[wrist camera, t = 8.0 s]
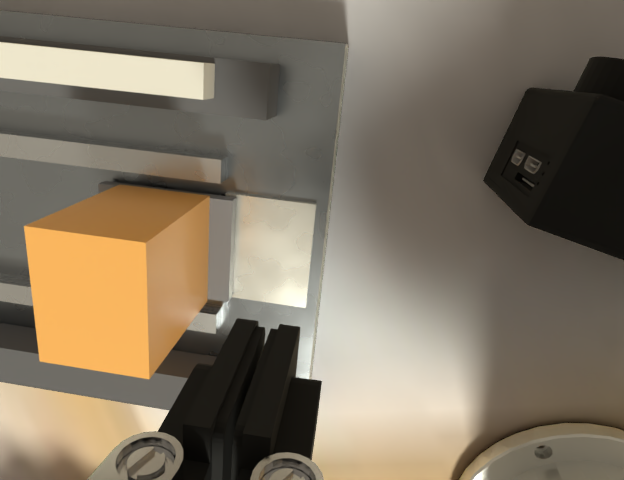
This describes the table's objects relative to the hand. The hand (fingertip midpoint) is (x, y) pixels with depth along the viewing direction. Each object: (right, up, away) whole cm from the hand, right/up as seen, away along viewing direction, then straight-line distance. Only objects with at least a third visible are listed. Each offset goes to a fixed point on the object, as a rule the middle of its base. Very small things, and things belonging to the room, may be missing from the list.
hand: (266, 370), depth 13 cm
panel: (-10, +5, +12) cm, 16 cm away
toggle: (-5, +3, +9) cm, 11 cm away
